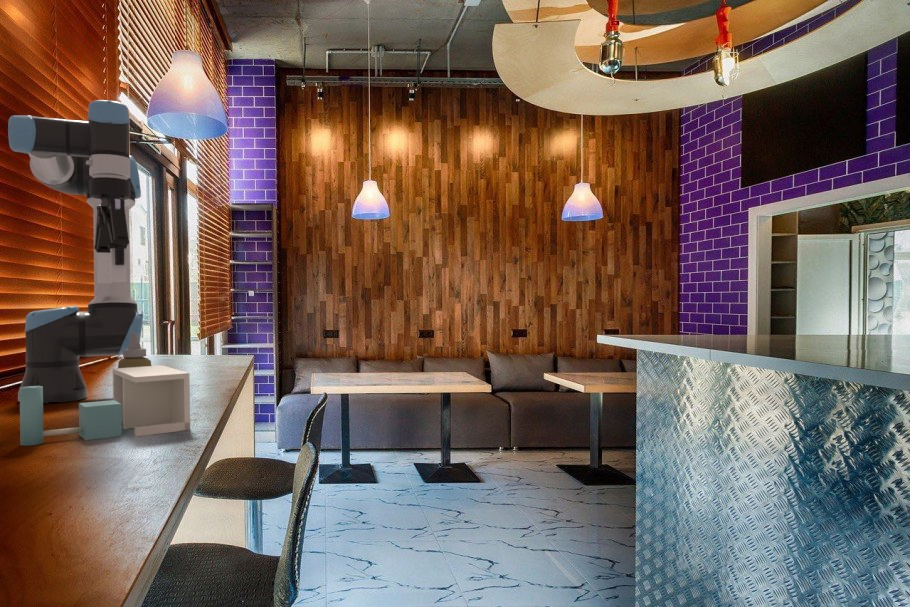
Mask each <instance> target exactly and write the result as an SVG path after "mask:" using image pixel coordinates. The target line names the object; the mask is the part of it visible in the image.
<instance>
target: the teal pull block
mask: <svg viewBox="0 0 910 607" xmlns="http://www.w3.org/2000/svg"><path fill="white" fill-rule="evenodd" d="M20 387H21V386H20ZM20 387H19V389H20V403H19V431H20V433H19V437H20V438H19V441H20V442H19V443H20V446H26V447H27V446H38V445H43V444H44V437H53V436H61V435H70V434H71V435H72V434H79V436H80V437H81V438H82V439H83V440H85V441H89V440H90V441H91V440H97V439H107V438H115V437H122V435H123V434H122V433H123V432H122V429H123V427H122V424H123V422H121V403H119V402H117V401H115V400H113V399H111V400H101V401H100V400H98V401H90V402H79V403H78V424H79V425H78V426H79V427H78V426H76V427H68V428H58V429H50V430H49V429H48V430H44V404H43V386H27V387H21V388H20Z"/></svg>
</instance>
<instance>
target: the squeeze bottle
mask: <svg viewBox="0 0 910 607" xmlns="http://www.w3.org/2000/svg"><path fill="white" fill-rule="evenodd" d="M141 346H142V345H141V341H140V342H139V338H138V334H137V333H131V337H130V342H129V346H128V349H124V350H123V355H122V357H123V358H121V359H120V360H118V364H117V366H118V367H117V368H130V367H145V366H152V361H151V359H149V358H148V357H146V356H147V348H142V347H141Z"/></svg>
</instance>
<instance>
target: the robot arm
mask: <svg viewBox="0 0 910 607" xmlns="http://www.w3.org/2000/svg"><path fill="white" fill-rule="evenodd" d="M87 110H88V111H87V112H88V113H87V120H86V121H85V120H75V119H63V118H54V117H42V116H36V115H35V116H34V115H31V114H30V115H29V114H27V115H15V114H14V115H11V116H10V117H9V119H8V122H7V124H8V125H7V126H8V128H7V132H8V133H7V134H8V145H9V148H10V150H12V151H13V152H16V153H23V154H27V155H28V156H29V158H30V159H29V167H30V170H31V173H32V175H33V176H34V177H35V179H36V180H37V181H38V182H40V183H41V184H42V185H45V186H46V187H47V188H50V189H52V190H54V191H58V192H60V193H63V194H67V195H74V196H85V197H86V203H87V204H88V205H89V206H90V207H91V208H92V210H93V211H92V214H93V215H92V216H93V269H94V270H93V280H94V281H93V283H94V284H93V285H94V286H93V287H94V289H93V290H94V293H93V294H94V297H93V299H92V300H90V302H88V303H87V310H86V311H85V310H84V311H81V310H80V308H79V306H77V305H72V306H65V307H64V306H63V307H57V308H50V309H42V310H34V311H31V312H29V313H28V314H26V317H25V326H24V327H25V328H24V333H25V372H24V376H23V378H22V381H21V384H20V387H19V390H18V392H17V402H18V401H19V402H20V388H21V387H27V386H43V403H44V404H49V403H48V402H59V403H66V402H67V403H68V402H73V401H80V400H84V399H86V398H88V388H87V385H86V382H85V380H84V377H83V373H82V372H81V369H80V357H82V358H83V357H84V358H85V357H104V356H109V357H110V356H118V357H119V356H123V350H124V349H128V346H129V342H130V337H131V333H137V334H138V338H139V342H140V343H141V336H142V329H143V328H142V327H143V320H144V319H143V318H144V311H143V310H141V309H138V303H137V302H136V301H135V300H134V299H133V298H132V297H131V296H132V294H131V293H132V292H131V291H132V290H131V289H132V288H131V251H130V250H131V240H130V238H131V236H130V235H131V234H130V232H131V230H130V210H131V209H132V208H133V207H134V206H135V205H136V200H137V199H140V198H141V196H142V189H141V184H140V183H141V181H140V174H139V169H138V164H137V160H136V159H135V158H134V156H133V155H130V139H131V138H130V122H131V120H130V113H129V112H130V110H129V107H128V106H127V105H126V104H124V103H122V102H119V101H115V100H105V99H97V100H96V99H95V100H93V101H91V102H89V104H88V109H87ZM19 402H18V403H19Z"/></svg>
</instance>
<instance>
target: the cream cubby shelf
mask: <svg viewBox="0 0 910 607" xmlns="http://www.w3.org/2000/svg"><path fill="white" fill-rule="evenodd" d="M190 388H191V387H190V372H187V371H183V370H179V369H176V368H173V367H169V366H165V365H163V364H161V365H151V366H145V367H130V368H118V367H116V368H115V367H114V368H112V400H115V401H117V402H119V403H121V422H122V424H123V427H122V429H124V430H127V429H128V430H129V429H133V434H134V435H133V436H135V437H141V436H142V437H143V436H152V435H158V434H165V433H166V434H167V433H175V432H182V431H183V432H184V431H191V406H190V405H191V401H190V400H191V398H190V397H191V394H190V390H191V389H190Z"/></svg>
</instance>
